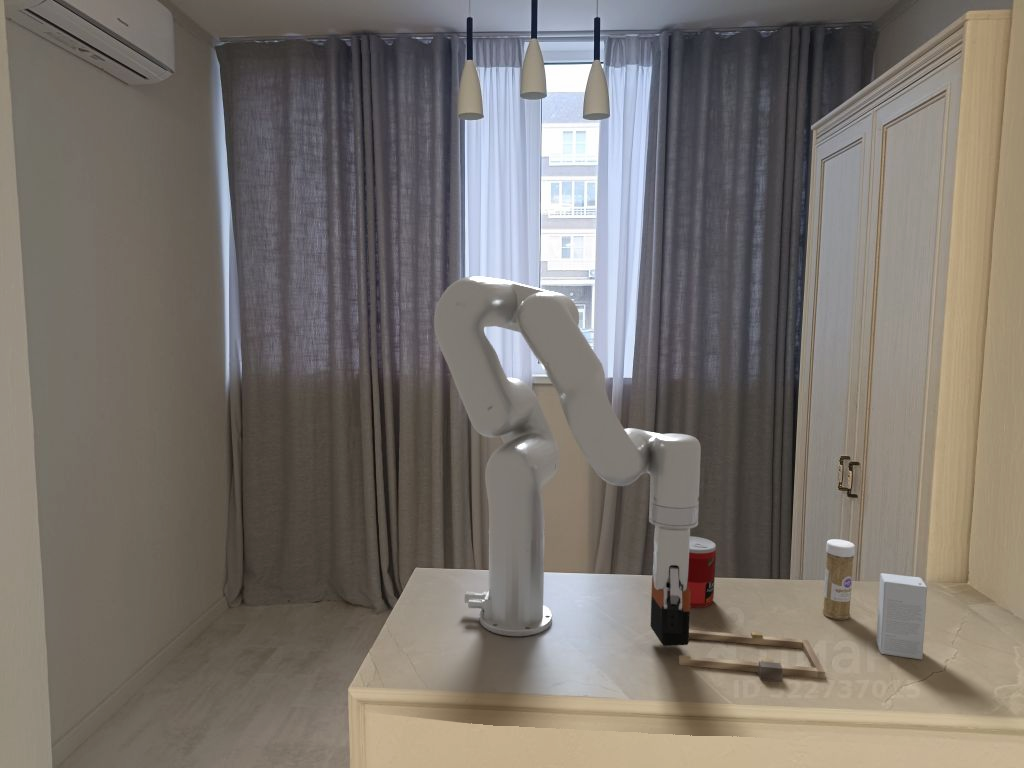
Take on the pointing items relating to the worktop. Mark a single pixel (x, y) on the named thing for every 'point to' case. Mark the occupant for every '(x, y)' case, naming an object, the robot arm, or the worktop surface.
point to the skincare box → (901, 615)
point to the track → (764, 667)
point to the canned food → (701, 571)
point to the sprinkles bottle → (838, 579)
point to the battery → (656, 610)
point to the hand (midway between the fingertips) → (670, 619)
